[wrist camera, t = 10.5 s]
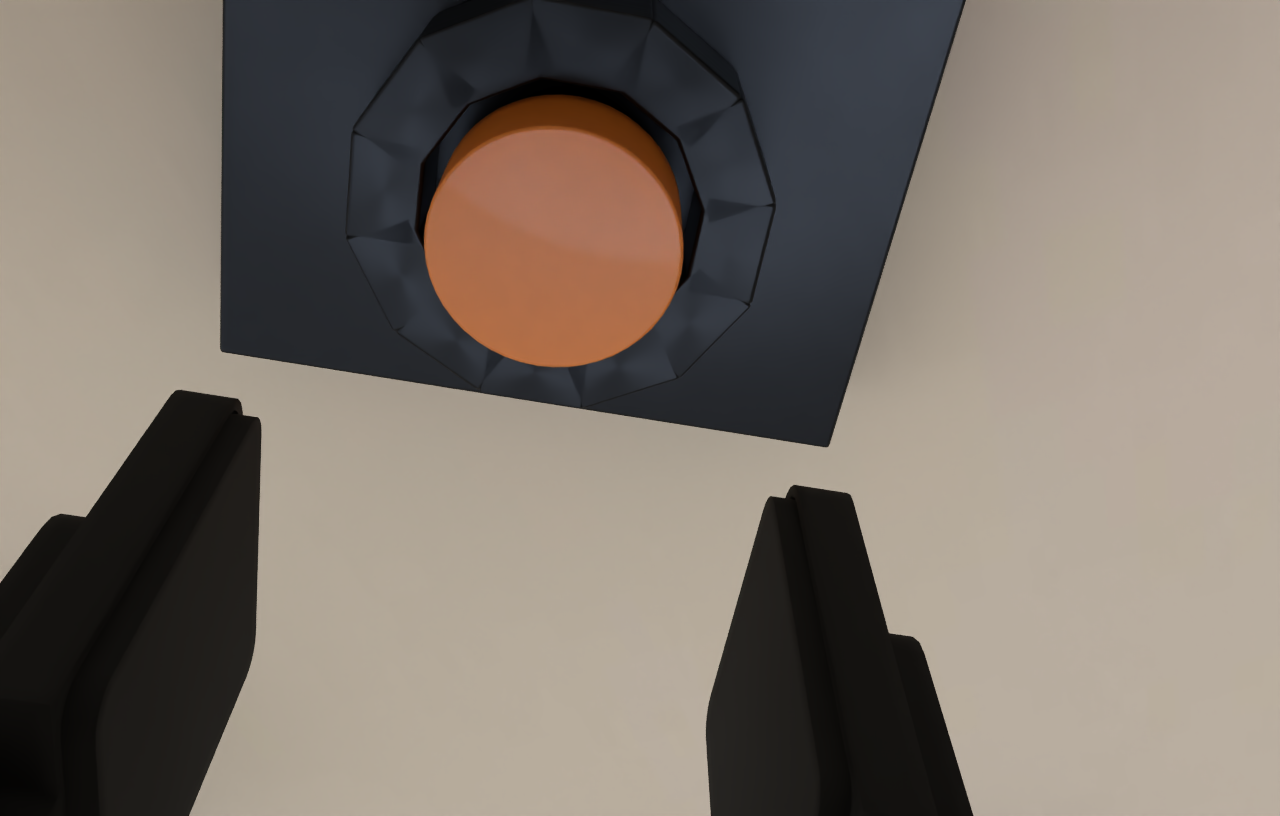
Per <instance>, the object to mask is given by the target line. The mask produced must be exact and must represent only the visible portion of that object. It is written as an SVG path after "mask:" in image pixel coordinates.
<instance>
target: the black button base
mask: <svg viewBox="0 0 1280 816" xmlns="http://www.w3.org/2000/svg"><path fill="white" fill-rule="evenodd" d="M965 2H966V0H223V50H222V180H221V310H220V349H221V351H222V352H225V353H232V354H238V355H244V356H251V357H257V358H263V359H270V360H276V361H282V362H289V363H295V364H301V365H308V366H314V367H320V368H327V369H333V370H339V371H346V372H352V373H358V374H365V375H371V376H377V377H384V378H390V379H396V380H403V381H409V382H415V383H422V384H428V385H434V386H441V387H447V388H453V389H460V390H466V391H472V392H479V393H484V394H491V395H497V396H503V397H510V398H516V399H522V400H529V401H535V402H541V403H548V404H554V405H560V406H567V407H573V408H580V409H586V410H593V411H599V412H605V413H612V414H618V415H624V416H631V417H637V418H643V419H650V420H656V421H662V422H669V423H675V424H681V425H688V426H694V427H700V428H707V429H713V430H719V431H726V432H732V433H738V434H745V435H751V436H757V437H764V438H770V439H776V440H783V441H789V442H795V443H802V444H808V445H814V446H821V447H828V446H829V444H830V441H831V438H832V435H833V431H834V428H835V425H836V422H837V418H838V415H839V412H840V409H841V405H842V402H843V399H844V396H845V392H846V389H847V386H848V383H849V379H850V376H851V373H852V370H853V366H854V363H855V360H856V357H857V353H858V350H859V347H860V344H861V340H862V337H863V334H864V331H865V327H866V324H867V321H868V318H869V314H870V311H871V308H872V304H873V301H874V298H875V295H876V291H877V288H878V285H879V282H880V278H881V275H882V272H883V269H884V265H885V262H886V259H887V256H888V252H889V249H890V246H891V243H892V239H893V236H894V233H895V230H896V226H897V223H898V220H899V217H900V213H901V210H902V207H903V204H904V200H905V197H906V194H907V191H908V187H909V184H910V181H911V178H912V174H913V171H914V168H915V165H916V161H917V158H918V155H919V151H920V148H921V145H922V142H923V138H924V135H925V132H926V129H927V125H928V122H929V119H930V116H931V112H932V109H933V106H934V103H935V99H936V96H937V93H938V90H939V86H940V83H941V80H942V77H943V73H944V70H945V67H946V64H947V60H948V57H949V54H950V51H951V47H952V44H953V41H954V38H955V34H956V31H957V28H958V25H959V21H960V18H961V15H962V12H963V8H964V5H965ZM556 94H563V95H572V96H580V97H584V98H588V99H592V100H595V101H598V102H601V103H603V104H606V105H608V106H611V107H613V108H614V109H616V110H618V111H620V112H622V113H623V114H625V115H627V116H628V117H629V118H631V119H632V120H633V121H635V122H636V123H638V124H639V125H640V126H641V127H642V128H643V129H644V130H645V131H646V132H647V133H648V134H649V135H650V136H651V137H652V138H653V140H654V141H655V142H656V143H657V145H658V146H659V147H660V149H661V150H662V152H663V154H664V155H665V157H666V158H667V160H668V162H669V164H670V167H671V169H672V171H673V174H674V176H675V180H676V183H677V187H678V190H679V198H680V205H681V217H682V230H683V265H682V272H681V276H680V280H679V283H678V287H677V290H676V292H675V294H674V296H673V299H672V301H671V303H670V305H669V306H668V308H667V309H666V311H665V313H664V314H663V316H662V317H661V318H660V320H659V321H658V322H657V323H656V324H655V326H654V327H653V328H652V329H651V330H650V331H649V332H648V333H647V334H645V335H644V336H643V337H642V338H641V339H640V340H638V341H637V342H635V343H634V344H633V345H631V346H630V347H628V348H627V349H625V350H623V351H621V352H619V353H617V354H615V355H613V356H611V357H608V358H606V359H603V360H601V361H597V362H593V363H589V364H585V365H579V366H571V367H546V366H536V365H532V364H527V363H523V362H519V361H516V360H513V359H510V358H507V357H505V356H503V355H501V354H498V353H496V352H494V351H492V350H490V349H489V348H487V347H486V346H484V345H482V344H481V343H479V342H478V341H476V340H475V339H474V338H473V337H471V336H470V335H469V334H468V333H466V332H465V331H464V330H463V329H462V328H461V327H460V326H459V325H458V324H457V323H456V322H455V320H454V319H453V318H452V317H451V315H450V314H449V313H448V311H447V310H446V309H445V307H444V306H443V304H442V303H441V301H440V299H439V297H438V296H437V294H436V292H435V289H434V287H433V284H432V282H431V280H430V277H429V273H428V269H427V265H426V260H425V251H424V230H425V224H426V218H427V213H428V210H429V207H430V204H431V201H432V198H433V196H434V194H435V191H436V189H437V187H438V185H439V182H440V180H441V178H442V175H443V173H444V171H445V169H446V166H447V164H448V162H449V160H450V158H451V156H452V154H453V152H454V150H455V149H456V147H457V146H458V144H459V143H460V141H461V140H462V138H463V137H464V136H465V135H466V134H467V133H468V132H469V131H470V130H471V128H472V127H473V126H474V125H476V124H477V123H478V122H479V121H481V120H482V119H483V118H484V117H485V116H487V115H489V114H490V113H492V112H493V111H495V110H497V109H498V108H500V107H503V106H505V105H507V104H509V103H512V102H514V101H518V100H521V99H525V98H528V97H533V96H540V95H556Z"/></svg>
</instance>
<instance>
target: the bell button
mask: <svg viewBox="0 0 1280 816" xmlns="http://www.w3.org/2000/svg"><path fill="white" fill-rule="evenodd" d="M424 251H425V260H426V265H427V269H428V273H429V277H430V280H431V282H432V284H433V287H434V289H435V292H436V294H437V296H438V297H439V299H440V301H441V303H442V304H443V306H444V307H445V309H446V310H447V311H448V313H449V314H450V315H451V317H452V318H453V319H454V320H455V322H456V323H457V324H458V325H459V326H460V327H461V328H462V329H463V330H464V331H465V332H466V333H468V334H469V335H470V336H471V337H473V338H474V339H475V340H476V341H478V342H479V343H481V344H482V345H484V346H486V347H487V348H489V349H490V350H492V351H494V352H496V353H498V354H501V355H503V356H505V357H507V358H510V359H513V360H516V361H519V362H523V363H527V364H532V365H536V366H546V367H571V366H579V365H585V364H589V363H593V362H597V361H601V360H603V359H606V358H608V357H611V356H613V355H615V354H617V353H619V352H621V351H623V350H625V349H627V348H628V347H630V346H631V345H633V344H634V343H635V342H637V341H638V340H640V339H641V338H642V337H643V336H644V335H645V334H647V333H648V332H649V331H650V330H651V329H652V328H653V327H654V326H655V324H656V323H657V322H658V321H659V320H660V318H661V317H662V316H663V314H664V313H665V311H666V309H667V308H668V306H669V305H670V303H671V301H672V299H673V296H674V294H675V292H676V290H677V287H678V283H679V280H680V276H681V272H682V265H683V230H682V217H681V205H680V198H679V190H678V187H677V183H676V180H675V176H674V174H673V171H672V169H671V167H670V164H669V162H668V160H667V158H666V157H665V155H664V154H663V152H662V150H661V149H660V147H659V146H658V145H657V143H656V142H655V141H654V140H653V138H652V137H651V136H650V135H649V134H648V133H647V132H646V131H645V130H644V129H643V128H642V127H641V126H640V125H639V124H638V123H636V122H635V121H633V120H632V119H631V118H629V117H628V116H627V115H625V114H623V113H622V112H620V111H618V110H616V109H614V108H613V107H611V106H608V105H606V104H603V103H601V102H598V101H595V100H592V99H588V98H584V97H580V96H572V95H563V94H556V95H540V96H533V97H528V98H525V99H521V100H518V101H514V102H512V103H509V104H507V105H505V106H503V107H500V108H498V109H497V110H495V111H493V112H492V113H490V114H489V115H487V116H485V117H484V118H483V119H482V120H481V121H479V122H478V123H477V124H476V125H474V126H473V127H472V128H471V130H470V131H469V132H468V133H467V134H466V135H465V136H464V137H463V138H462V140H461V141H460V143H459V144H458V146H457V147H456V149H455V150H454V152H453V154H452V156H451V158H450V160H449V162H448V164H447V166H446V169H445V171H444V173H443V175H442V178H441V180H440V182H439V185H438V187H437V189H436V191H435V194H434V196H433V198H432V201H431V204H430V207H429V210H428V213H427V218H426V224H425V230H424Z"/></svg>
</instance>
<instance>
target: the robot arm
mask: <svg viewBox="0 0 1280 816" xmlns="http://www.w3.org/2000/svg"><path fill="white" fill-rule="evenodd" d="M260 465H261V422H260V419H259V418H258V417H252V416H245V415H243V412H242V406H241V402H240V401H239V400H238V399H235V398H229V397H223V396H216V395H210V394H203V393H197V392H190V391H184V390H176V391H175V392H174V393H173V394H172V395H171V396H170V397H169V399H168V400H167V402H166V403H165V404H164V406H163V407H162V409H161V410H160V412H159V413H158V415H157V416H156V417H155V419H154V420H153V422H152V423H151V425H150V426H149V427H148V429H147V430H146V432H145V433H144V435H143V436H142V437H141V439H140V440H139V442H138V443H137V445H136V446H135V448H134V449H133V450H132V452H131V453H130V455H129V456H128V458H127V459H126V460H125V462H124V463H123V465H122V466H121V468H120V469H119V470H118V472H117V473H116V475H115V476H114V478H113V479H112V480H111V482H110V483H109V485H108V486H107V488H106V489H105V491H104V492H103V493H102V495H101V496H100V498H99V499H98V501H97V502H96V503H95V505H94V506H93V508H92V509H91V511H90V512H89V513H88V515H87V516H86V517H80V516H73V515H66V514H59V515H56V516H53V517H51V518H50V519H49V520H48V521H47V522H46V523H45V524H44V526H43V527H42V528H41V529H40V530H39V532H38V533H37V534H36V536H35V537H34V538H33V540H32V541H31V542H30V544H29V545H28V546H27V548H26V549H25V550H24V552H23V553H22V555H21V556H20V557H19V559H18V560H17V561H16V563H15V564H14V565H13V567H12V568H11V569H10V571H9V572H8V573H7V575H6V576H5V577H4V579H3V580H2V581H1V583H0V816H189V814H190V812H191V809H192V807H193V805H194V802H195V800H196V797H197V795H198V792H199V790H200V788H201V785H202V783H203V780H204V778H205V775H206V773H207V771H208V768H209V766H210V763H211V761H212V759H213V756H214V754H215V751H216V749H217V746H218V744H219V742H220V739H221V737H222V734H223V732H224V730H225V727H226V725H227V722H228V720H229V717H230V715H231V713H232V710H233V708H234V705H235V703H236V701H237V698H238V696H239V693H240V691H241V688H242V686H243V684H244V681H245V679H246V676H247V674H248V671H249V668H250V664H251V661H252V656H253V651H254V645H255V636H256V607H257V571H258V536H259V500H260ZM706 745H707V761H708V776H709V792H710V808H711V816H973V813H972V810H971V806H970V803H969V800H968V796H967V793H966V790H965V787H964V783H963V780H962V777H961V773H960V770H959V767H958V763H957V760H956V757H955V753H954V750H953V747H952V744H951V740H950V737H949V734H948V730H947V727H946V724H945V720H944V717H943V714H942V710H941V707H940V704H939V701H938V697H937V694H936V691H935V687H934V684H933V681H932V677H931V674H930V671H929V667H928V664H927V661H926V658H925V654H924V652H923V650H922V647H921V645H920V643H919V642H918V641H917V640H916V639H915V638H913V637H910V636H903V635H896V634H890V633H889V632H888V629H887V625H886V621H885V618H884V614H883V610H882V607H881V603H880V599H879V595H878V592H877V588H876V584H875V581H874V577H873V573H872V569H871V566H870V562H869V558H868V555H867V551H866V547H865V544H864V540H863V536H862V532H861V529H860V525H859V521H858V518H857V514H856V510H855V507H854V503H853V500H852V498H851V495H850V494H848V493H843V492H837V491H830V490H824V489H817V488H811V487H804V486H798V485H793V486H792V487H790V489H789V491H788V493H787V495H786V498H779V497H773V496H770V497H769V498H768V500H767V502H766V504H765V507H764V510H763V513H762V517H761V520H760V524H759V527H758V531H757V534H756V538H755V541H754V545H753V548H752V552H751V555H750V559H749V563H748V566H747V570H746V573H745V577H744V580H743V584H742V587H741V591H740V594H739V598H738V601H737V605H736V608H735V612H734V615H733V619H732V622H731V626H730V629H729V633H728V637H727V640H726V644H725V647H724V651H723V654H722V658H721V661H720V665H719V668H718V672H717V675H716V679H715V682H714V686H713V689H712V693H711V697H710V701H709V706H708V712H707V721H706Z"/></svg>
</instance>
